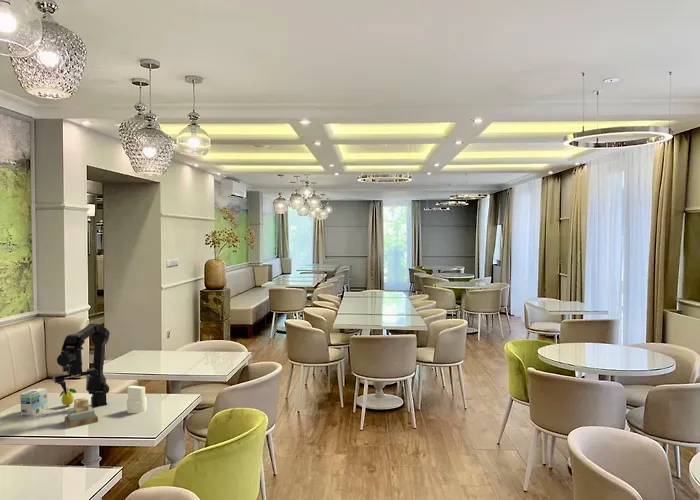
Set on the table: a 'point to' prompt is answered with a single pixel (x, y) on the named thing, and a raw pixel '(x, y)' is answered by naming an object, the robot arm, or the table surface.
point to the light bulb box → (34, 401)
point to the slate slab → (80, 414)
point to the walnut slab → (80, 421)
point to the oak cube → (81, 404)
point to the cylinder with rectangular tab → (136, 399)
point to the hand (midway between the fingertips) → (76, 392)
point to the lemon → (68, 397)
